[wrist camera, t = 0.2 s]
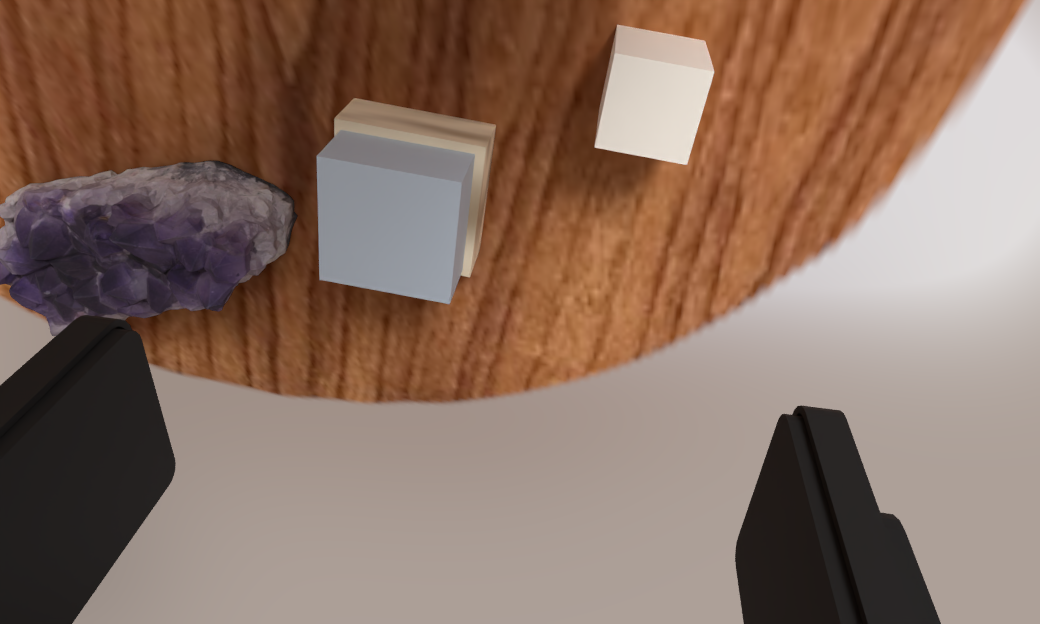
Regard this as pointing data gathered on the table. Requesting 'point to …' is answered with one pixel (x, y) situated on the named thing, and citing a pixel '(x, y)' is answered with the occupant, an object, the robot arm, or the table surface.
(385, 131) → the tower base
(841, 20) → the table surface
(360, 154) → the tower top
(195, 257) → the geode
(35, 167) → the table surface
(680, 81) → the white block
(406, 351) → the table surface
